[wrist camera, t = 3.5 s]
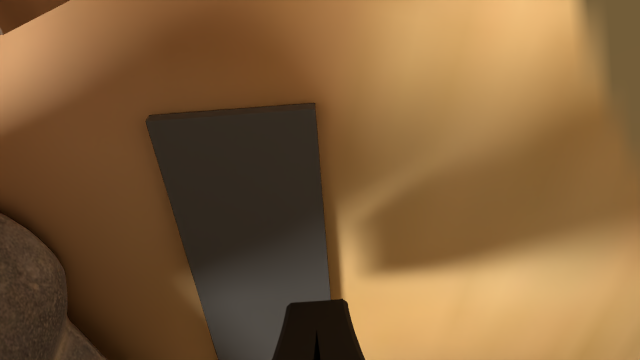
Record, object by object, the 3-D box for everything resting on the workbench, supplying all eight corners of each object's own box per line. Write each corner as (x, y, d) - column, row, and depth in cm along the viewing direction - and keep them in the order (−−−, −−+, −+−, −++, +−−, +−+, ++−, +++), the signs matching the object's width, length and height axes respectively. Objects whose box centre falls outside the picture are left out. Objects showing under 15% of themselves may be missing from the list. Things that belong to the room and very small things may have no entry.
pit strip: (337, 379, 15) (337, 387, 15) (230, 386, 15) (228, 394, 15) (314, 103, 10) (315, 108, 10) (149, 115, 10) (145, 121, 10)
